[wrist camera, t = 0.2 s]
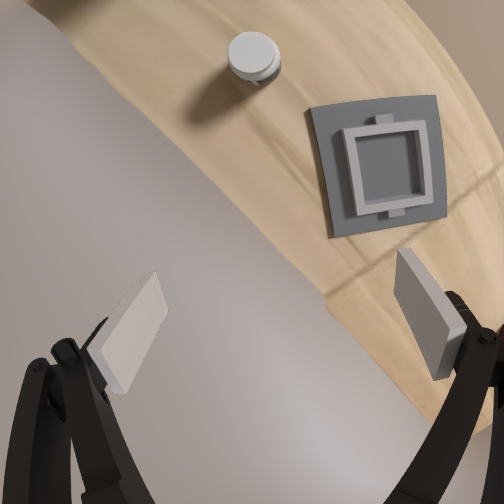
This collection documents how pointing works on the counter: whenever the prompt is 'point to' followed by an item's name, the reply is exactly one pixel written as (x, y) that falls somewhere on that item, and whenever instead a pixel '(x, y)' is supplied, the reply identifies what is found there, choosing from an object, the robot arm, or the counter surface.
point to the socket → (382, 162)
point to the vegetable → (502, 332)
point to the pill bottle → (254, 58)
